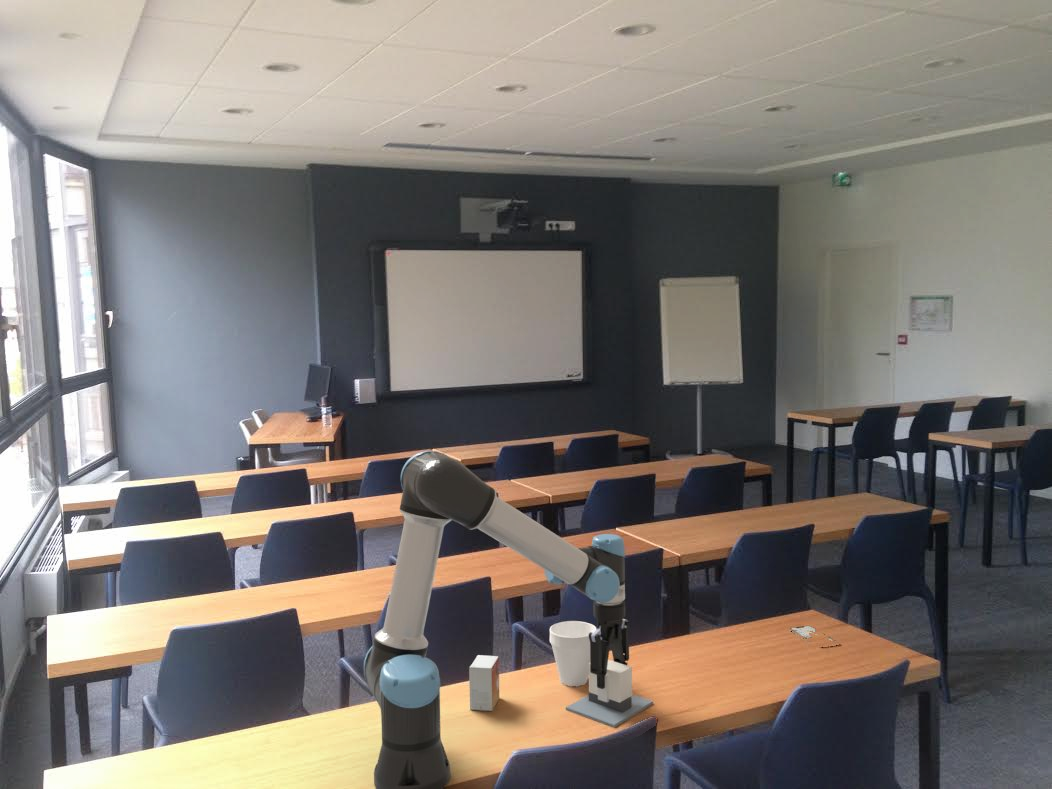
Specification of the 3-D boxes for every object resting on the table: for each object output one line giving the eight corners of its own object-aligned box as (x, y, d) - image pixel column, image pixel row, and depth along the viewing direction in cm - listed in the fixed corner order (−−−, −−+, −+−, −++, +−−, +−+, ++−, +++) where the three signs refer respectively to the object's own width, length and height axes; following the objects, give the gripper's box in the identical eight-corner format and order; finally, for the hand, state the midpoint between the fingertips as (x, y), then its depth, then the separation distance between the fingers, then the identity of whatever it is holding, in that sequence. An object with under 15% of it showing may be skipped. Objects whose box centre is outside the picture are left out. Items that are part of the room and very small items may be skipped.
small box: (492, 712, 196) (491, 668, 195) (469, 710, 197) (468, 667, 196) (500, 697, 204) (499, 655, 203) (478, 695, 205) (477, 654, 204)
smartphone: (819, 647, 232) (788, 628, 247) (819, 651, 232) (788, 631, 247) (842, 644, 234) (809, 625, 249) (841, 648, 235) (809, 629, 249)
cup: (606, 686, 209) (605, 633, 208) (561, 694, 205) (561, 640, 204) (585, 668, 221) (584, 618, 220) (542, 675, 216) (541, 624, 215)
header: (614, 727, 187) (613, 697, 187) (565, 709, 196) (565, 680, 196) (653, 703, 199) (653, 675, 199) (605, 687, 208) (605, 660, 208)
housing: (619, 702, 193) (619, 673, 192) (588, 692, 199) (588, 663, 198) (632, 695, 196) (631, 666, 196) (601, 685, 202) (601, 657, 202)
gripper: (599, 613, 187) (600, 714, 188) (644, 594, 200) (645, 688, 202) (573, 607, 192) (574, 704, 193) (618, 588, 205) (619, 680, 207)
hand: (610, 696), depth 198 cm, fingers closed on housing, 5 cm apart
